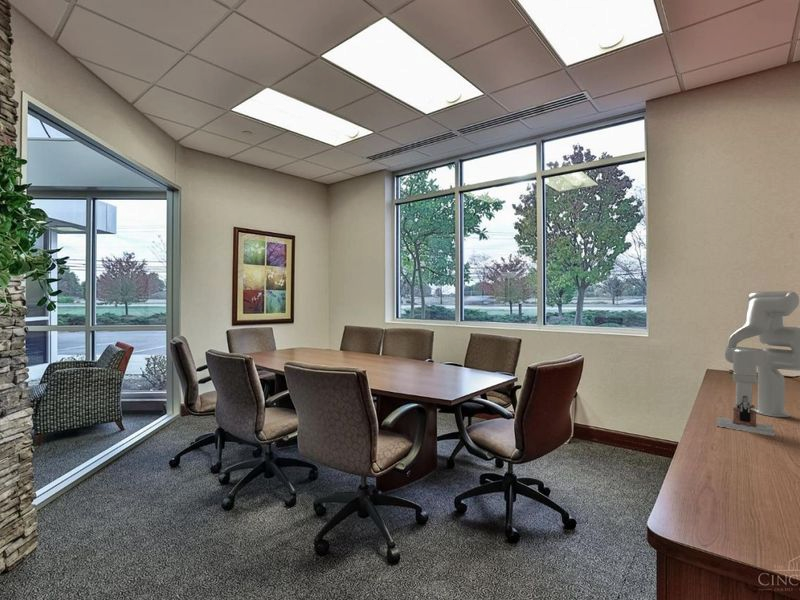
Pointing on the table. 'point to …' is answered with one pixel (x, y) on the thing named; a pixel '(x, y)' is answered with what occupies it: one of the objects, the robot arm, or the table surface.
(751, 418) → the lighter
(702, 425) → the table surface
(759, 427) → the track
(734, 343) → the robot arm
